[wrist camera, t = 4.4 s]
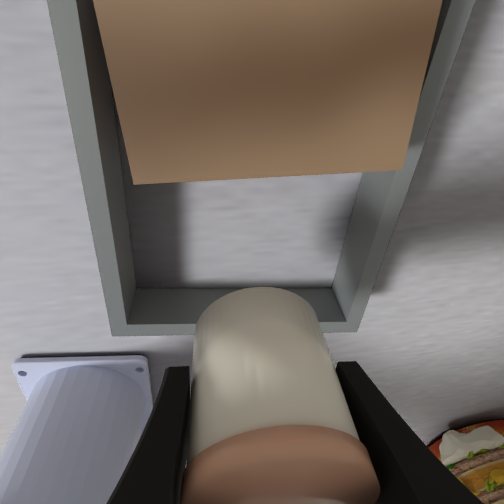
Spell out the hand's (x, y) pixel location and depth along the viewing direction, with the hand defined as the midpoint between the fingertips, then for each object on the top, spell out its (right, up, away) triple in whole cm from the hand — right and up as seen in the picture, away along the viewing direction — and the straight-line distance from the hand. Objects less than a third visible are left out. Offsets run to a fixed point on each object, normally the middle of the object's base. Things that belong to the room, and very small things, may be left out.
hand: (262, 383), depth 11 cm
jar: (0, +1, +2) cm, 2 cm away
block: (0, +12, +3) cm, 12 cm away
